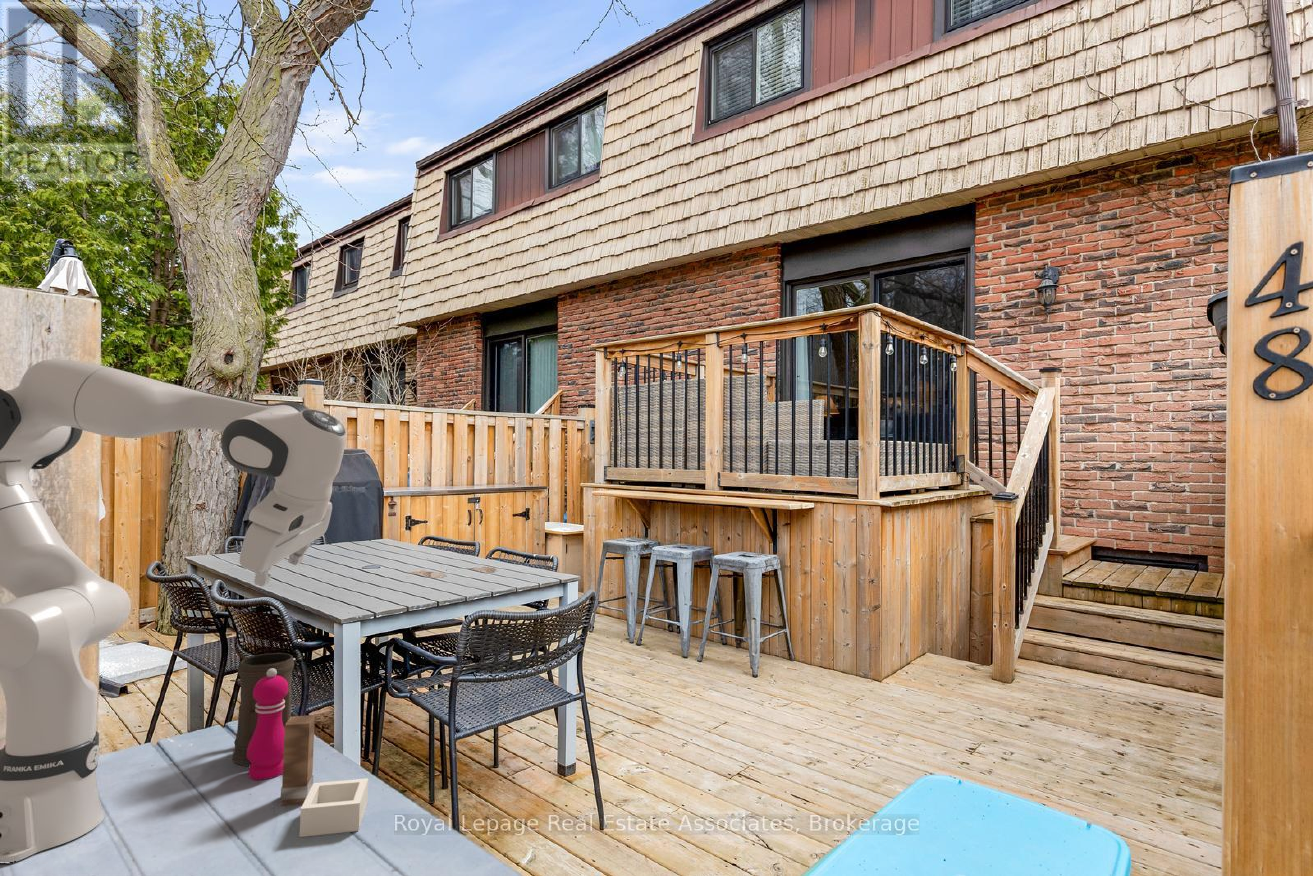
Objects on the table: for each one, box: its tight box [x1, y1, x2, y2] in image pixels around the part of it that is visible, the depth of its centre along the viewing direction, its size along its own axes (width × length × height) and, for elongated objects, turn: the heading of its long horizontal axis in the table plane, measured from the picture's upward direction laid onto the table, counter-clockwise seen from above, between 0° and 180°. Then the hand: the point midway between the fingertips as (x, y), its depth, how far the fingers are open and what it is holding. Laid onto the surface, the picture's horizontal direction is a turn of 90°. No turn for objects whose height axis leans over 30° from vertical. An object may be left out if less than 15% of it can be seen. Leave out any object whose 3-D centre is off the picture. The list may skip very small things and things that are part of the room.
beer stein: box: [231, 652, 295, 766], centre depth 141 cm, size 15×11×20 cm
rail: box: [280, 714, 316, 806], centre depth 122 cm, size 4×4×14 cm
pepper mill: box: [247, 668, 288, 781], centre depth 132 cm, size 7×7×20 cm
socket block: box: [299, 777, 369, 838], centre depth 115 cm, size 9×9×4 cm
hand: (278, 572), depth 119 cm, fingers open, 8 cm apart
